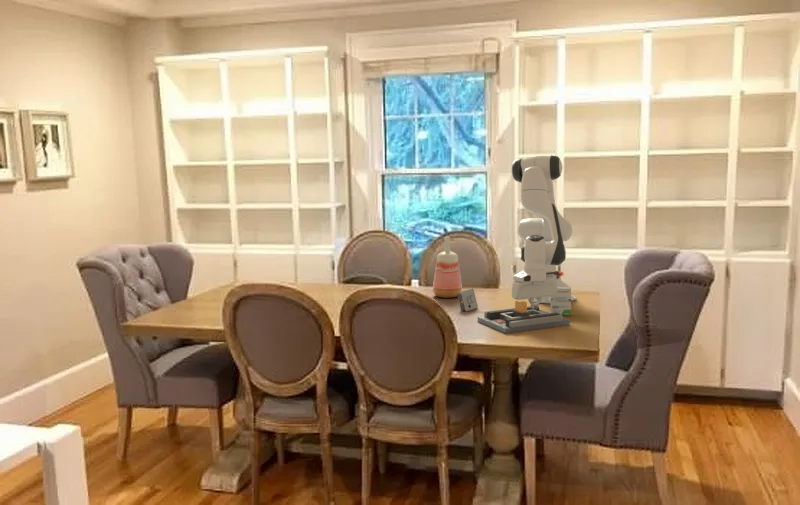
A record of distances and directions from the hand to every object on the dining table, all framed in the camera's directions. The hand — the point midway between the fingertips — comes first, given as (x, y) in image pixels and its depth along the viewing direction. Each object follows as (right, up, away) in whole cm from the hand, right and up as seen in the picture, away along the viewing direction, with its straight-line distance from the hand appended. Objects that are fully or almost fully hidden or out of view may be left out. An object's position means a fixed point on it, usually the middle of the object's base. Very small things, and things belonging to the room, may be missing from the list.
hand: (534, 308), depth 274 cm
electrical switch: (-25, -3, +26) cm, 36 cm away
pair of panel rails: (-5, -4, -2) cm, 7 cm away
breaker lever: (-6, -4, -2) cm, 8 cm away
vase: (-32, +1, +55) cm, 64 cm away
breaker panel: (-5, -6, -1) cm, 8 cm away
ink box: (+14, -4, +13) cm, 19 cm away
